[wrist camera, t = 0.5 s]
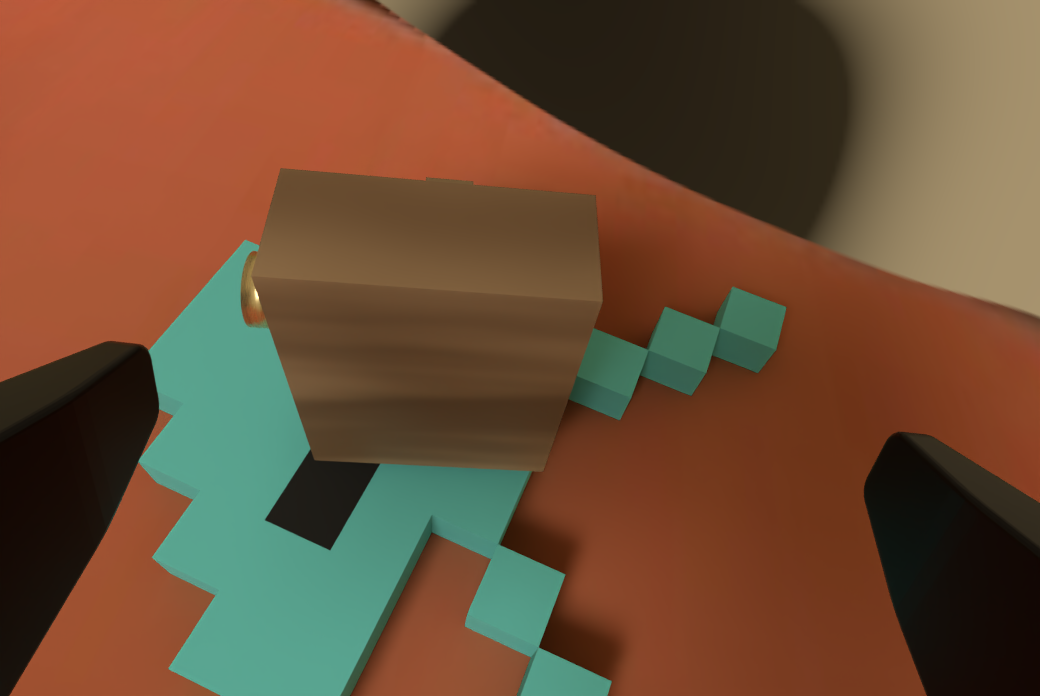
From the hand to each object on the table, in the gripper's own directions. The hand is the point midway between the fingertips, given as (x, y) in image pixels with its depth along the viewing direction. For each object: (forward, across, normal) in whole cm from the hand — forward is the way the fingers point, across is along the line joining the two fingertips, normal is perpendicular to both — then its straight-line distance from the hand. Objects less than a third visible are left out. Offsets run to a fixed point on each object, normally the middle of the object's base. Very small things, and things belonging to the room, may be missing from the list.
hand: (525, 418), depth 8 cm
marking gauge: (+13, +2, +8) cm, 15 cm away
